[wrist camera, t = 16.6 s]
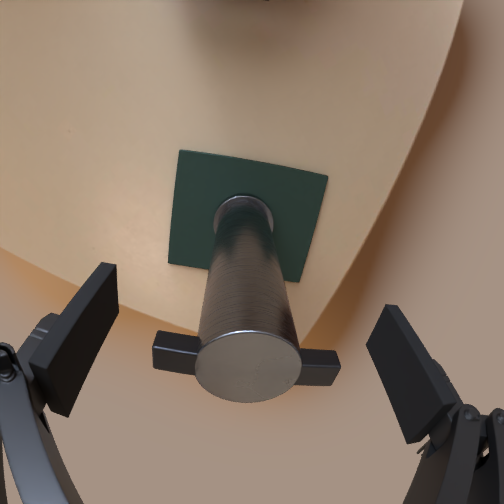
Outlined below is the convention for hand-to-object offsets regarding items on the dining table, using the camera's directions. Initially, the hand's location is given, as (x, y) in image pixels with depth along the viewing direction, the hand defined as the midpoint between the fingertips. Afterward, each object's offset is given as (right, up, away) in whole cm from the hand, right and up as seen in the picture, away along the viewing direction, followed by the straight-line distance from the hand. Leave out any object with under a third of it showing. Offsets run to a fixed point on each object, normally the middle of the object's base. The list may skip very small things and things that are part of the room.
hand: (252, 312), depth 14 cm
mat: (-1, +5, +11) cm, 13 cm away
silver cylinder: (-1, +5, +11) cm, 12 cm away
